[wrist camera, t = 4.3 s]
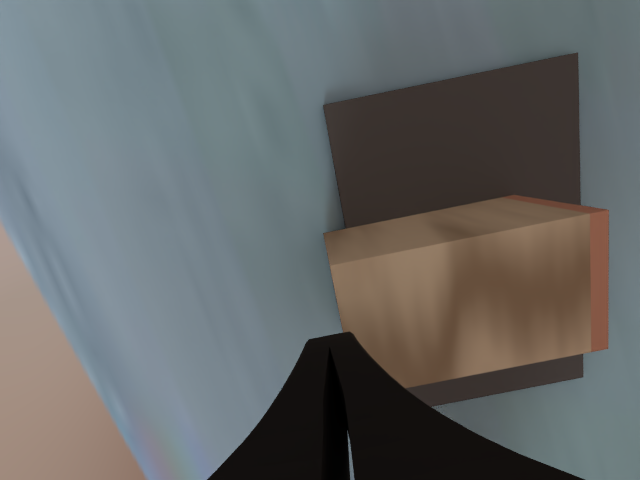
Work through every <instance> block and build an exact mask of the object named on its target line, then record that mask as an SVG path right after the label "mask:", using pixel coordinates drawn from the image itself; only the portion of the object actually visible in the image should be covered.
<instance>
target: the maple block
mask: <svg viewBox="0 0 640 480" xmlns="http://www.w3.org/2000/svg"><path fill="white" fill-rule="evenodd" d="M323 234H324V239H325V244H326V249H327V254H328V259H329V264H330V269H331V274H332V279H333V284H334V289H335V294H336V299H337V304H338V309H339V314H340V319H341V324H342V329H343V333H344V332H349V331H350V332H351V333H353V334H354V335H355V337H356V339H357V340H358V341H359V343H360V344H361V345H362V347H363V348H364V349H365V350H366V351H367V353H368V354H369V355H370V356H371V357H372V358H373V359H374V360H375V361H376V362H377V363H378V364H379V365H380V366H381V367H382V368H383V369H384V370H385V371H386V372H387V373H388V374H389V375H390V376H391V377H393V378H394V379H395V380H396V381H397V382H398V383H400V384H401V385H402V386H403V387H404V388H409V387H414V386H419V385H424V384H430V383H435V382H440V381H445V380H450V379H455V378H460V377H465V376H471V375H476V374H481V373H486V372H491V371H496V370H501V369H507V368H512V367H517V366H522V365H527V364H532V363H537V362H543V361H548V360H553V359H558V358H563V357H568V356H573V355H578V354H584V353H589V352H594V351H599V350H604V349H608V262H609V210H606V209H600V208H594V207H587V206H581V205H575V204H568V203H562V202H556V201H550V200H543V199H537V198H531V197H524V196H518V195H511V196H506V197H501V198H496V199H491V200H486V201H481V202H476V203H471V204H466V205H461V206H456V207H451V208H446V209H441V210H436V211H431V212H426V213H421V214H416V215H411V216H407V217H402V218H397V219H392V220H387V221H382V222H377V223H372V224H367V225H362V226H357V227H352V228H347V229H342V230H337V231H332V232H327V233H323Z"/></svg>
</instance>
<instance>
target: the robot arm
mask: <svg viewBox="0 0 640 480" xmlns="http://www.w3.org/2000/svg"><path fill="white" fill-rule="evenodd" d="M347 430H348V434H349V438H350V443H351V452H352V460H353V469H354V478H355V480H584V479H582V478H579V477H577V476H574V475H572V474H569V473H566V472H564V471H561V470H559V469H556V468H554V467H551V466H549V465H546V464H543V463H541V462H538V461H536V460H533V459H531V458H528V457H525V456H523V455H521V454H518V453H516V452H514V451H512V450H510V449H507V448H505V447H503V446H501V445H499V444H497V443H495V442H492V441H490V440H488V439H486V438H484V437H482V436H480V435H478V434H476V433H474V432H472V431H470V430H469V429H467V428H465V427H463V426H462V425H460V424H458V423H456V422H455V421H453V420H451V419H449V418H447V417H446V416H444V415H442V414H441V413H439V412H438V411H436V410H435V409H433V408H432V407H430V406H429V405H427V404H426V403H424V402H423V401H422V400H420V399H419V398H417V397H416V396H415V395H413V394H412V393H411V392H409V391H408V390H407V389H406V388H404V387H403V386H402V385H401V384H400V383H398V382H397V381H396V380H395V379H394V378H393V377H391V376H390V375H389V374H388V373H387V372H386V371H385V370H384V369H383V368H382V367H381V366H380V365H379V364H378V363H377V362H376V361H375V360H374V359H373V358H372V357H371V356H370V355H369V354H368V353H367V351H366V350H365V349H364V348H363V347H362V345H361V344H360V343H359V341H358V340H357V339H356V337H355V335H354V334H353V333H351V332H350V331H349V332H344V333H339V334H334V335H329V336H323V337H318V338H313V339H309V340H308V341H307V343H306V344H305V346H304V349H303V351H302V353H301V355H300V357H299V359H298V361H297V363H296V365H295V367H294V369H293V370H292V372H291V374H290V376H289V377H288V379H287V381H286V383H285V384H284V386H283V388H282V389H281V391H280V392H279V394H278V396H277V397H276V399H275V400H274V402H273V403H272V405H271V406H270V408H269V409H268V411H267V412H266V413H265V415H264V416H263V418H262V419H261V420H260V422H259V423H258V424H257V426H256V427H255V428H254V429H253V431H252V432H251V433H250V434H249V436H248V437H247V438H246V439H245V440H244V441H243V443H242V444H241V445H240V446H239V447H238V448H237V449H236V450H235V451H234V452H233V453H232V454H231V455H230V456H229V457H228V459H227V460H226V461H225V462H224V463H223V464H222V465H221V466H220V467H219V468H218V469H217V470H216V471H215V472H214V473H213V474H212V475H211V476H210V477H209V478H208V479H207V480H350V469H349V451H348V434H347Z"/></svg>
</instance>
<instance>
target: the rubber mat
mask: <svg viewBox="0 0 640 480" xmlns="http://www.w3.org/2000/svg"><path fill="white" fill-rule="evenodd" d="M323 108H324V113H325V119H326V124H327V130H328V135H329V140H330V146H331V151H332V157H333V162H334V168H335V173H336V178H337V184H338V189H339V195H340V200H341V206H342V211H343V216H344V222H345V227H346V229H347V228H352V227H357V226H362V225H367V224H372V223H377V222H382V221H387V220H392V219H397V218H402V217H407V216H411V215H416V214H421V213H426V212H431V211H436V210H441V209H446V208H451V207H456V206H461V205H466V204H471V203H476V202H481V201H486V200H491V199H496V198H501V197H506V196H511V195H518V196H524V197H531V198H537V199H543V200H550V201H556V202H562V203H568V204H575V205H581V202H580V140H579V78H578V53H573V54H568V55H564V56H559V57H554V58H549V59H544V60H539V61H534V62H530V63H525V64H520V65H515V66H510V67H505V68H501V69H496V70H491V71H486V72H481V73H476V74H471V75H467V76H462V77H457V78H452V79H447V80H442V81H438V82H433V83H428V84H423V85H418V86H413V87H408V88H404V89H399V90H394V91H389V92H384V93H379V94H374V95H370V96H365V97H360V98H355V99H350V100H345V101H341V102H336V103H331V104H326V105H323ZM582 377H583V354H578V355H573V356H568V357H563V358H558V359H553V360H548V361H543V362H537V363H532V364H527V365H522V366H517V367H512V368H507V369H501V370H496V371H491V372H486V373H481V374H476V375H471V376H465V377H460V378H455V379H450V380H445V381H440V382H435V383H430V384H424V385H419V386H414V387H409V388H406V389H407V390H408V391H409V392H411V393H412V394H413V395H415V396H416V397H417V398H419V399H420V400H422V401H423V402H424V403H426V404H427V405H429V406H430V407H432V406H437V405H442V404H447V403H453V402H458V401H463V400H468V399H473V398H478V397H483V396H489V395H494V394H499V393H504V392H509V391H514V390H520V389H525V388H530V387H535V386H540V385H545V384H551V383H556V382H561V381H566V380H571V379H576V378H582Z"/></svg>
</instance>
